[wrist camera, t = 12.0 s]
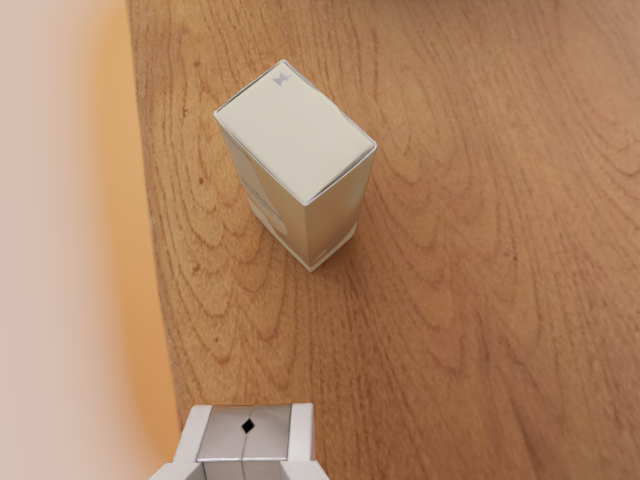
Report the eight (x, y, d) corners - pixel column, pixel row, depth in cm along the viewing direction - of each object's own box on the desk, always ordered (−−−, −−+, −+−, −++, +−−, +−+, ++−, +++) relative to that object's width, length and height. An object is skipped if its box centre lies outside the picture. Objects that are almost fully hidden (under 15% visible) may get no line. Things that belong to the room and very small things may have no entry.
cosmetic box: (250, 212, 30) (203, 108, 19) (296, 173, 31) (279, 51, 20) (313, 278, 29) (304, 209, 17) (360, 235, 30) (381, 142, 18)
